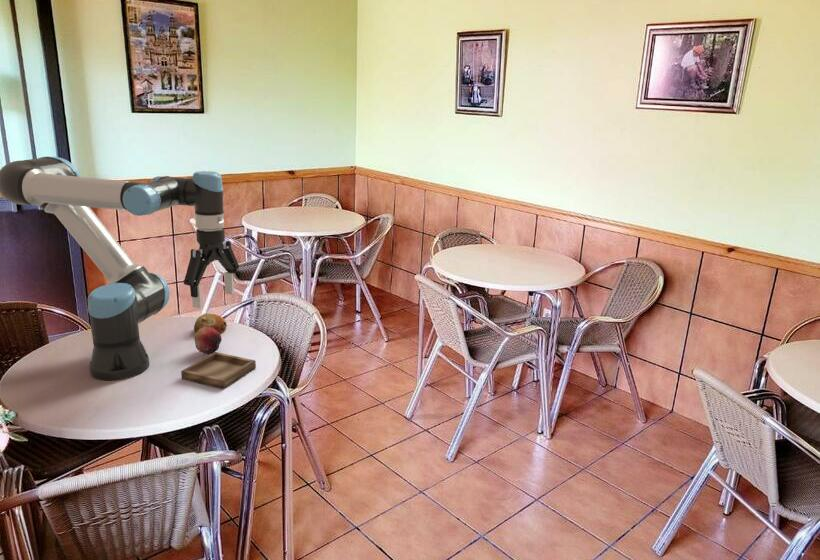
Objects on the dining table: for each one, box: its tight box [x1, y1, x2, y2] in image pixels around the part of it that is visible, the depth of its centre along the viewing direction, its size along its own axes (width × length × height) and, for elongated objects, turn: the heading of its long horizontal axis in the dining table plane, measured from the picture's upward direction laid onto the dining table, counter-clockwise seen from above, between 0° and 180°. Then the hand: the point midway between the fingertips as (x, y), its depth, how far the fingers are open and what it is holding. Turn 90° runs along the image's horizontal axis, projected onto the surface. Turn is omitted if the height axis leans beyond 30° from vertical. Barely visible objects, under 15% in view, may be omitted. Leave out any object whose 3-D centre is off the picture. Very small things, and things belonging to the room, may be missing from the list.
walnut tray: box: [180, 351, 257, 390], centre depth 167 cm, size 14×14×2 cm
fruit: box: [194, 327, 222, 355], centre depth 179 cm, size 8×8×8 cm
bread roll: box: [193, 312, 228, 335], centre depth 196 cm, size 10×10×8 cm
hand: (214, 300), depth 173 cm, fingers open, 13 cm apart
